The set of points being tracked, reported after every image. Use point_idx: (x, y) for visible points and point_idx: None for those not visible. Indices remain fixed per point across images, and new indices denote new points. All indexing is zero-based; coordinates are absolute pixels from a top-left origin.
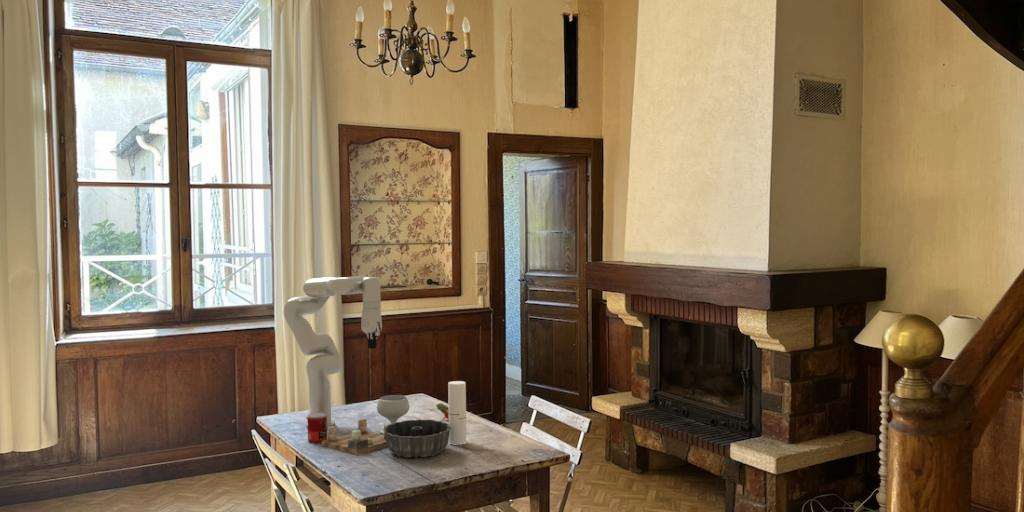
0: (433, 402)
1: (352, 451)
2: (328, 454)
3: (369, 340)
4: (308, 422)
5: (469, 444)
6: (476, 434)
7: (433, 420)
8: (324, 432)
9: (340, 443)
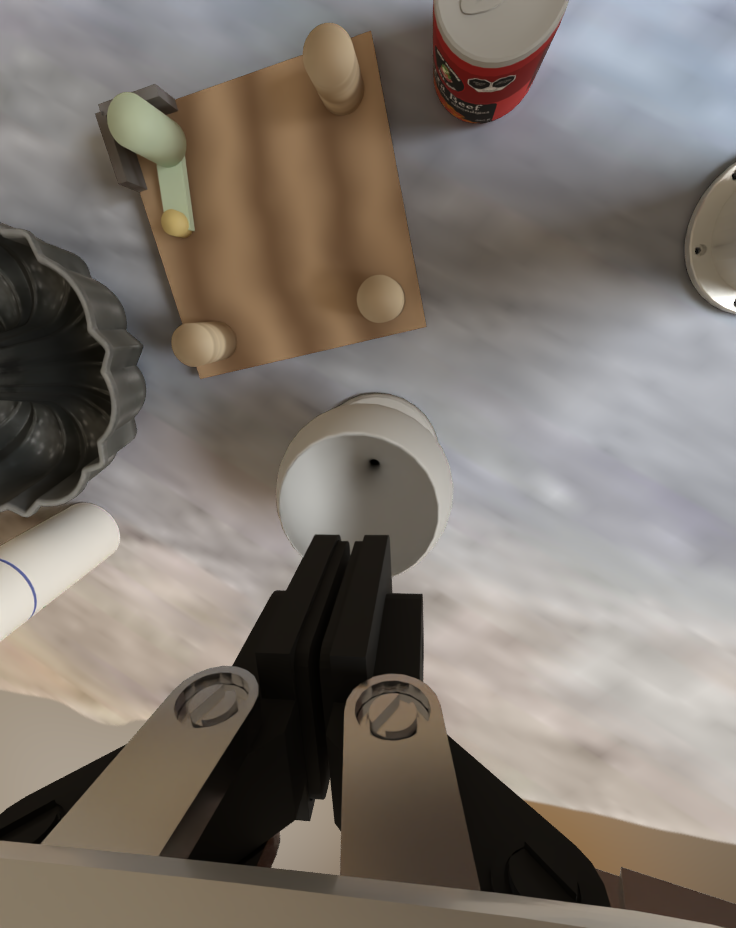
0: (694, 824)
1: None
2: (211, 5)
3: (295, 632)
4: None
5: None
6: (160, 638)
7: (57, 499)
8: (435, 72)
9: (266, 102)
